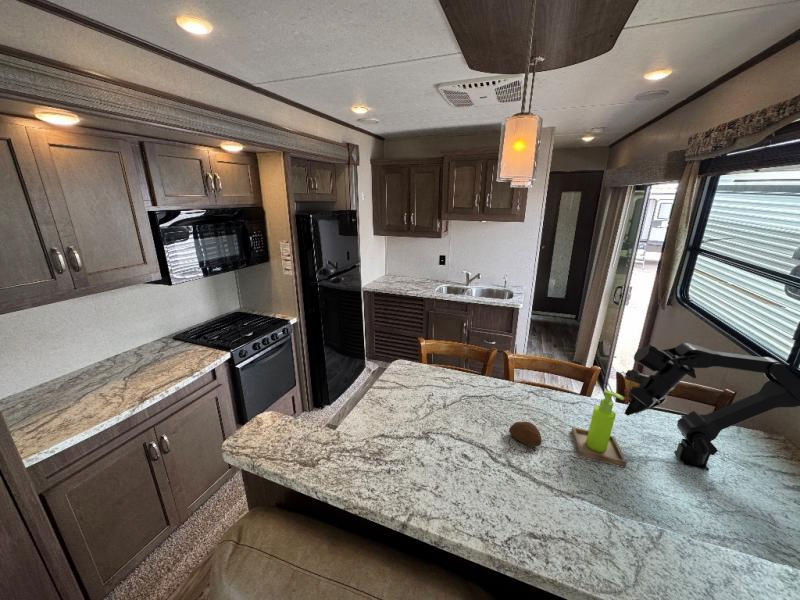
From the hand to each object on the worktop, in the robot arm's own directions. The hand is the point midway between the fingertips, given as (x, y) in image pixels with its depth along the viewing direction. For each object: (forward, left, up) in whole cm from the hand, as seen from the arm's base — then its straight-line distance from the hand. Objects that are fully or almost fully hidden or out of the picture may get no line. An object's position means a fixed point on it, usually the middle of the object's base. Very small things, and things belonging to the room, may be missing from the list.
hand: (630, 413), depth 103 cm
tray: (+9, +6, -12) cm, 16 cm away
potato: (+31, +12, -12) cm, 36 cm away
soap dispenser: (+9, +6, -11) cm, 16 cm away
